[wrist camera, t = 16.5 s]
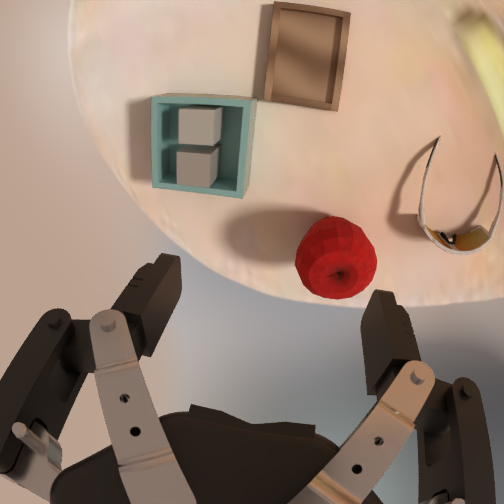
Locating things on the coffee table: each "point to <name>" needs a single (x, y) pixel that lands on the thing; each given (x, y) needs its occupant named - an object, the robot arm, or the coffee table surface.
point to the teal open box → (233, 143)
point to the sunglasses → (459, 243)
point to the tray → (306, 55)
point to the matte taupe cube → (201, 124)
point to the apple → (335, 259)
